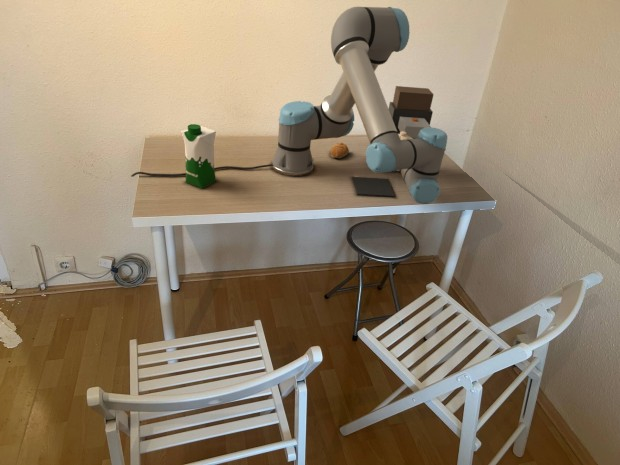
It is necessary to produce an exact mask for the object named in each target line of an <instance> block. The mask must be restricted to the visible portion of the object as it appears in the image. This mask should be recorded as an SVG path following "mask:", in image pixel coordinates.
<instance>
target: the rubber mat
mask: <svg viewBox="0 0 620 465" xmlns="http://www.w3.org/2000/svg"><path fill="white" fill-rule="evenodd" d="M352 181H353V182H352V183H353V184H354V189H355V192H356V196H364V197H381V198H382V197H384V198H395V197H396V196H395V193H394V190H393V188H392V186H391V183H390V181H389V178H380V177H366V176H365V177H363V176H352Z"/></svg>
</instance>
